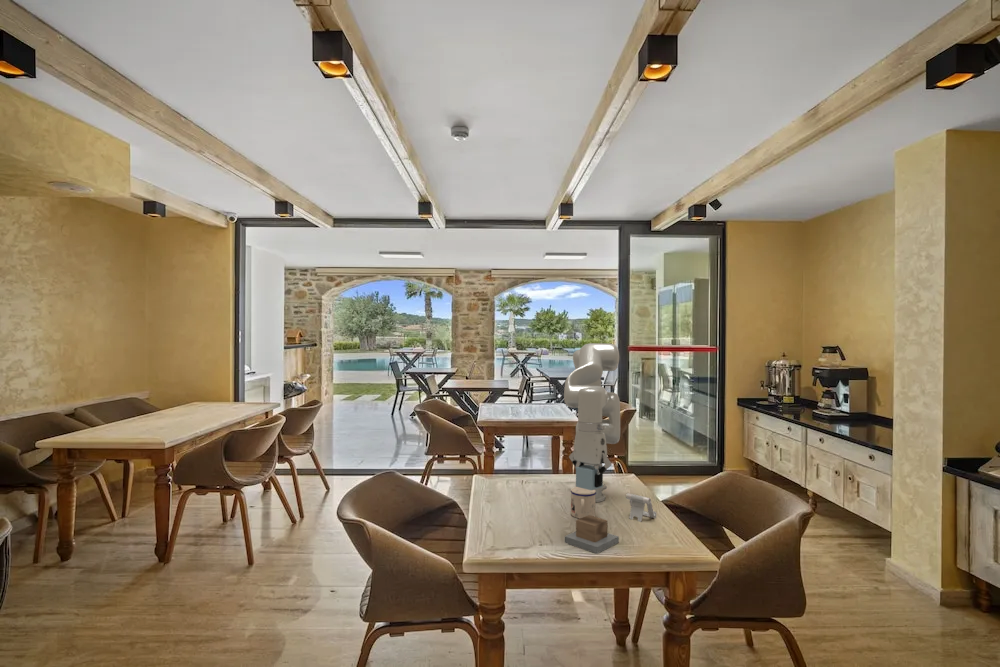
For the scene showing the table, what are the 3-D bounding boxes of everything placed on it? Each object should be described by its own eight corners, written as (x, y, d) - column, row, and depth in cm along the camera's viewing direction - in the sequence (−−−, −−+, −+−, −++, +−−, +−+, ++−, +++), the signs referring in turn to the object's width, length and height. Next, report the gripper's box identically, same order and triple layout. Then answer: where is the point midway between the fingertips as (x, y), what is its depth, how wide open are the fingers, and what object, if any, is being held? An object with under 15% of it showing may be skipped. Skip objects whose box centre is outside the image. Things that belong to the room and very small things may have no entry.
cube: (587, 483, 170) (587, 464, 170) (602, 486, 166) (602, 467, 166) (575, 486, 166) (576, 467, 166) (591, 490, 161) (591, 470, 161)
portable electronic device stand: (656, 518, 188) (656, 494, 188) (646, 523, 182) (646, 499, 182) (634, 512, 194) (634, 489, 194) (624, 517, 188) (624, 494, 188)
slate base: (586, 532, 173) (586, 526, 173) (618, 542, 164) (618, 536, 164) (564, 542, 164) (564, 536, 164) (597, 553, 156) (597, 547, 156)
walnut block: (588, 530, 169) (588, 514, 169) (607, 536, 164) (607, 520, 164) (575, 536, 164) (576, 520, 164) (594, 542, 159) (594, 525, 159)
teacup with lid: (571, 510, 195) (571, 478, 195) (596, 512, 193) (596, 480, 193) (569, 521, 183) (569, 487, 183) (595, 523, 181) (595, 489, 182)
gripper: (620, 429, 162) (619, 487, 162) (575, 422, 175) (574, 477, 174) (606, 432, 157) (606, 492, 157) (561, 425, 169) (560, 481, 169)
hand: (589, 483), depth 166 cm, fingers closed on cube, 6 cm apart
